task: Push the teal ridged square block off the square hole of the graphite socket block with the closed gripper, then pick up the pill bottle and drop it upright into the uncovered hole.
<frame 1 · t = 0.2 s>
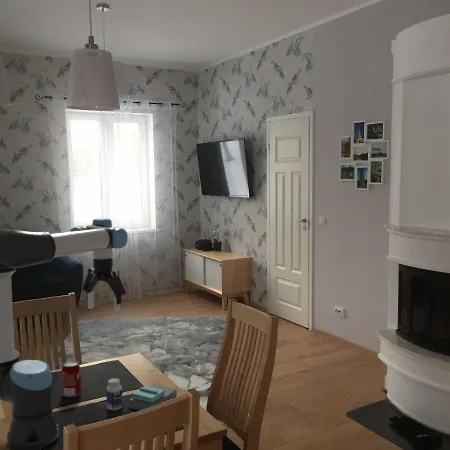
hand: (103, 310, 205), 28 cm above the table, fingers open, 13 cm apart
pill bottle: (114, 407, 180), on the table
teal ridged square block: (148, 393, 181), point 5 cm above the table, slide at 0.0 cm
socket block: (153, 402, 184), on the table
soda can: (71, 395, 191), on the table
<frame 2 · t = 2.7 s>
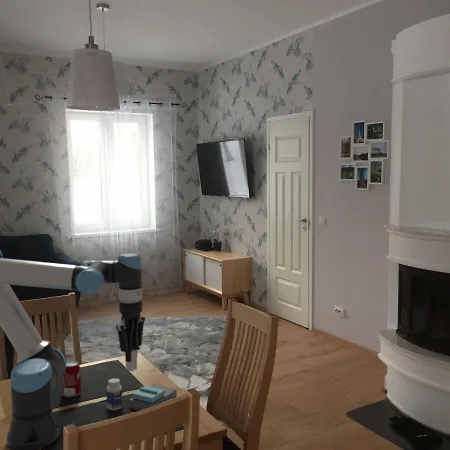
hand: (131, 369, 172), 16 cm above the table, fingers closed
nothing on the table moved.
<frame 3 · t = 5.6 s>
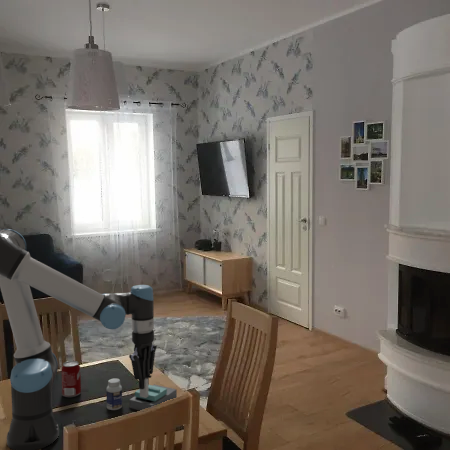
hand: (144, 396, 178), 5 cm above the table, fingers closed
teal ridged square block: (151, 391, 183), point 5 cm above the table, slide at 1.5 cm, touching gripper
everything else where it was.
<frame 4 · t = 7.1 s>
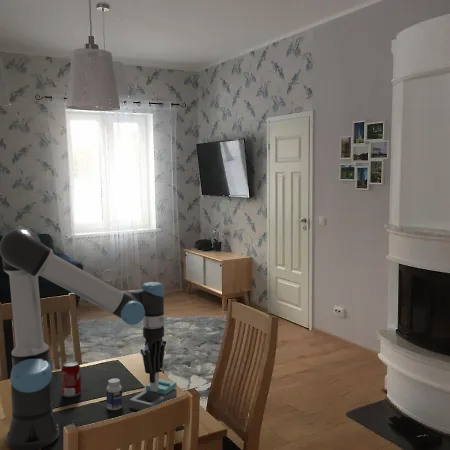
hand: (154, 390, 184), 4 cm above the table, fingers closed
teal ridged square block: (161, 385, 188), point 5 cm above the table, slide at 7.9 cm, touching gripper
everything else where it was.
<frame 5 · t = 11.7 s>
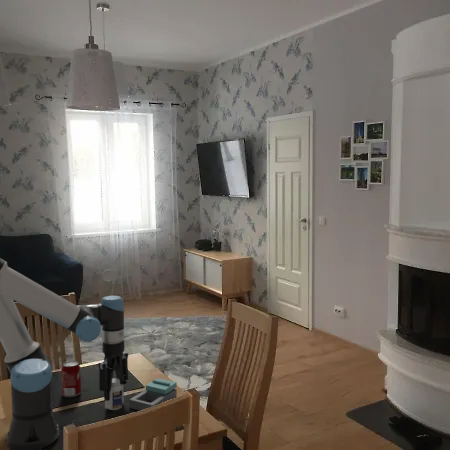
hand: (114, 404, 180), 1 cm above the table, fingers closed on pill bottle, 5 cm apart
pill bottle: (114, 407, 180), on the table, touching gripper
teal ridged square block: (161, 385, 188), point 5 cm above the table, slide at 7.9 cm
everything else where it was.
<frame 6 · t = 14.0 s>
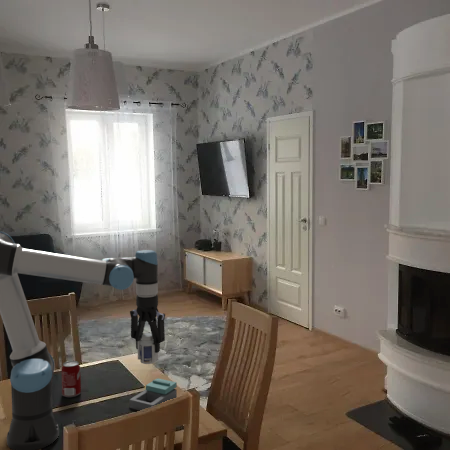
hand: (148, 359, 180), 17 cm above the table, fingers closed on pill bottle, 5 cm apart
pill bottle: (148, 362, 180), point 16 cm above the table, touching gripper
everything else where it was.
when the fingers open (5 cm above the table, at t = 16.5 s): pill bottle drops 4 cm, resting in socket block.
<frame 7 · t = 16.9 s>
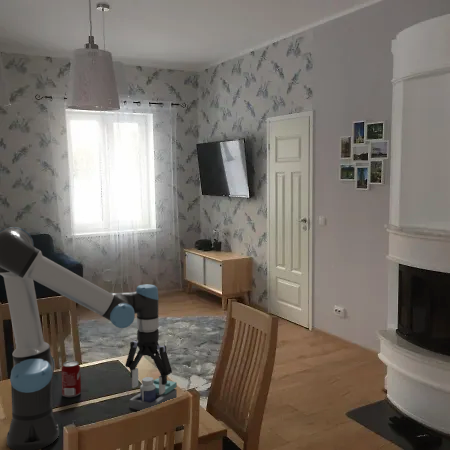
hand: (148, 389, 181), 6 cm above the table, fingers open, 11 cm apart
pill bottle: (148, 406, 182), resting in socket block
everything else where it was.
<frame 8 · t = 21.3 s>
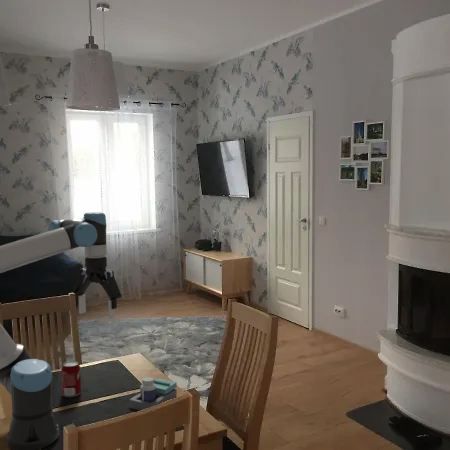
hand: (97, 315, 182), 32 cm above the table, fingers open, 13 cm apart
nothing on the table moved.
at the end: pill bottle 0.2 cm from the target spot on the socket block, point 0.0 cm above the socket block's base; pill bottle tilted 0°; teal ridged square block slide at 7.9 cm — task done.
